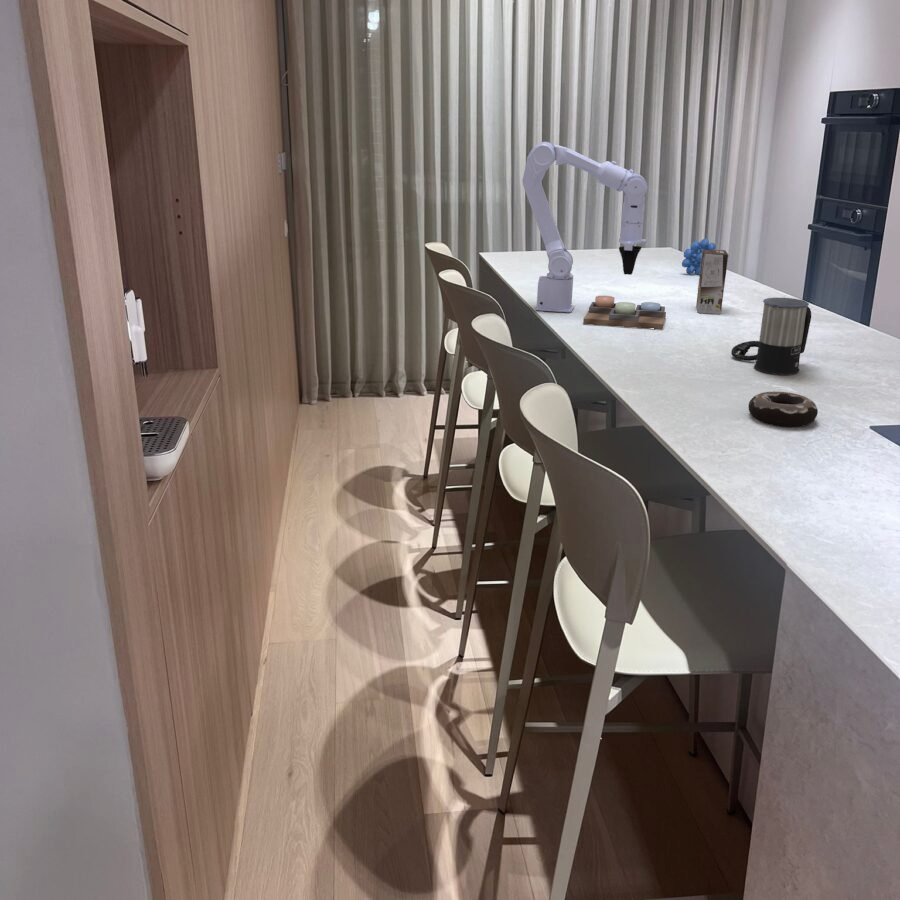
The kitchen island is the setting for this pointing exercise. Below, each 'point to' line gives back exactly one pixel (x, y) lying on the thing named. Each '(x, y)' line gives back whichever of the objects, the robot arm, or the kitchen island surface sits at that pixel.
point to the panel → (625, 317)
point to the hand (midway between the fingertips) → (628, 274)
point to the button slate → (650, 306)
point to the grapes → (696, 255)
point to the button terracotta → (604, 301)
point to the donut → (783, 409)
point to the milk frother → (779, 337)
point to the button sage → (625, 308)
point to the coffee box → (711, 281)
